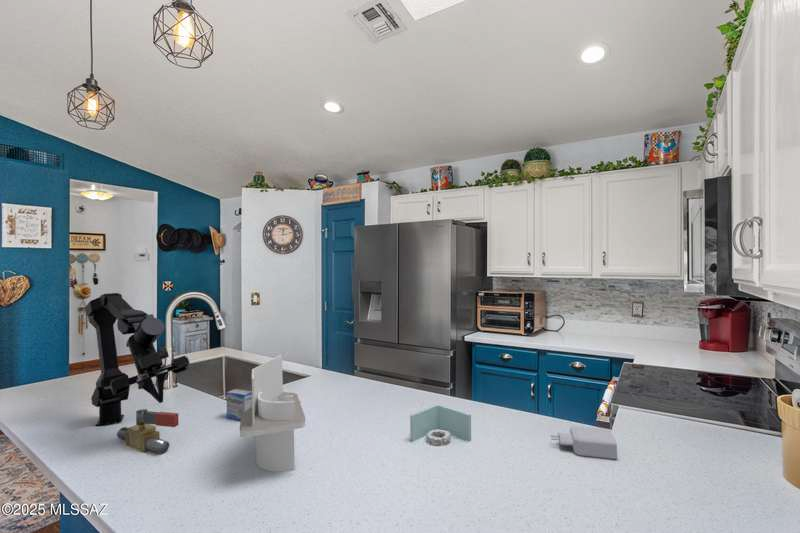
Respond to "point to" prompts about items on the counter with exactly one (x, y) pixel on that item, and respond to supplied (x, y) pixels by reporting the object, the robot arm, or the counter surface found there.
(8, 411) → the counter surface
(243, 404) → the medicine box
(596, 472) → the counter surface
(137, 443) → the valve
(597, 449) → the charger
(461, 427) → the l-shaped corner panel
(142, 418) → the lever
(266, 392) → the architectural model
